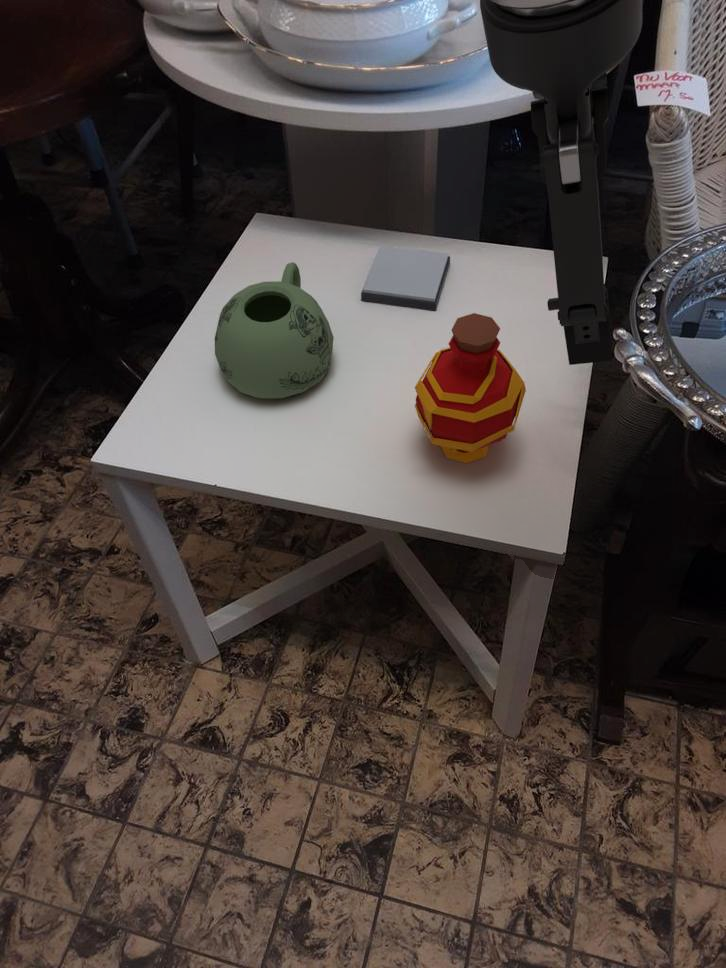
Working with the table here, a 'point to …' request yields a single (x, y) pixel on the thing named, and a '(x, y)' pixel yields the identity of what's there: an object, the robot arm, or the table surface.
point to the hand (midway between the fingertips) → (587, 280)
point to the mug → (273, 338)
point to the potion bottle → (469, 391)
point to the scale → (406, 278)
